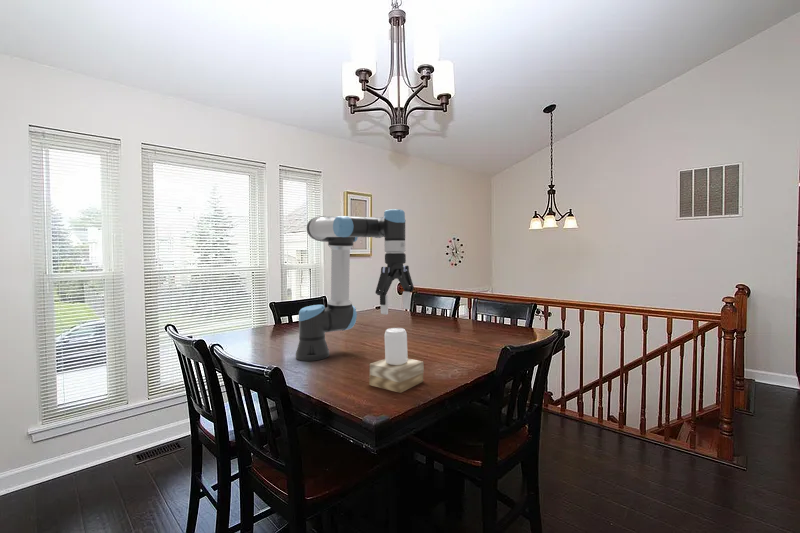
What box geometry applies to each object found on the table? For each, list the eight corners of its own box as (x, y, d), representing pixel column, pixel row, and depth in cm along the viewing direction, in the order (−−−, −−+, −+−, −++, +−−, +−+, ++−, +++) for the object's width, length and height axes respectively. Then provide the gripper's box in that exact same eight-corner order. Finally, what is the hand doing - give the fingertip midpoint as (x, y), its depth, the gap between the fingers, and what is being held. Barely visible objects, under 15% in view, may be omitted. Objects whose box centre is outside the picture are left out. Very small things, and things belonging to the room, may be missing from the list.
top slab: (369, 374, 140) (369, 363, 140) (394, 365, 151) (394, 355, 151) (399, 382, 131) (399, 371, 131) (423, 372, 142) (423, 361, 142)
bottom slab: (369, 386, 139) (369, 375, 139) (392, 376, 151) (392, 365, 151) (400, 394, 131) (400, 382, 131) (423, 382, 142) (423, 372, 142)
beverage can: (384, 360, 144) (383, 328, 143) (405, 358, 145) (404, 326, 144) (386, 366, 136) (385, 333, 135) (409, 365, 137) (408, 331, 136)
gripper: (381, 253, 127) (382, 317, 128) (422, 252, 147) (423, 307, 148) (364, 253, 131) (365, 315, 132) (406, 252, 152) (406, 306, 152)
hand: (395, 311), depth 140 cm, fingers open, 13 cm apart
